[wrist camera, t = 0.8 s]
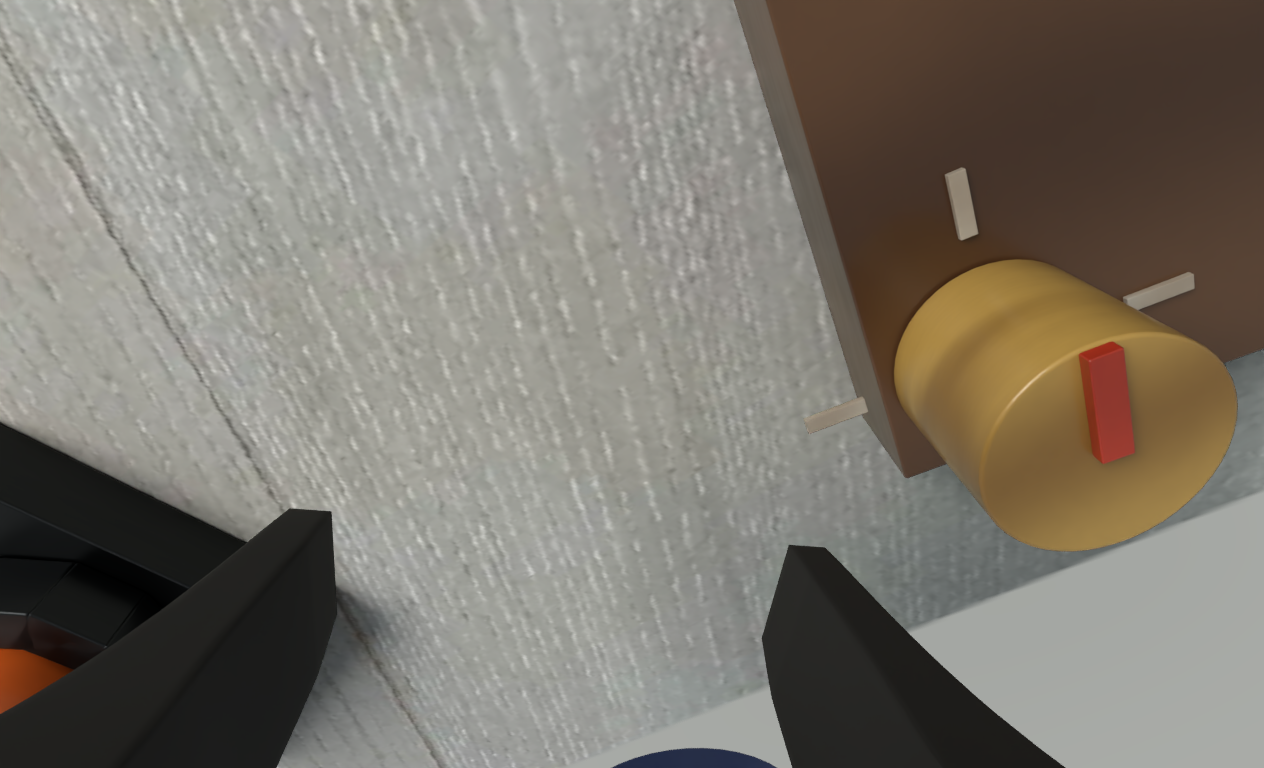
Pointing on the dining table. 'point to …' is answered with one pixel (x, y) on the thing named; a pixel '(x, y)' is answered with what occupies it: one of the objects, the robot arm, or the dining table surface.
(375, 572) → the dining table surface
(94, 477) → the button box
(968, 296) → the knob
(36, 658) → the button
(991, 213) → the knob panel
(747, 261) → the dining table surface
